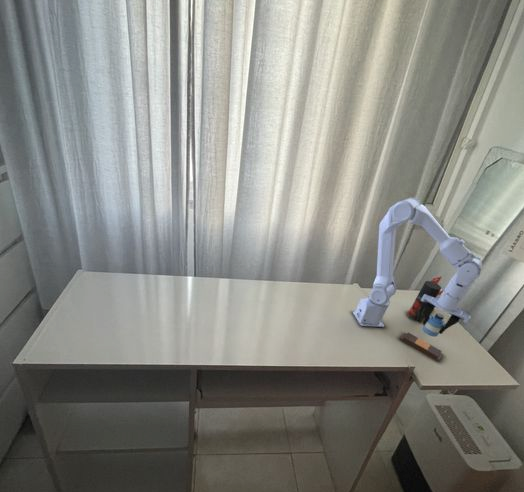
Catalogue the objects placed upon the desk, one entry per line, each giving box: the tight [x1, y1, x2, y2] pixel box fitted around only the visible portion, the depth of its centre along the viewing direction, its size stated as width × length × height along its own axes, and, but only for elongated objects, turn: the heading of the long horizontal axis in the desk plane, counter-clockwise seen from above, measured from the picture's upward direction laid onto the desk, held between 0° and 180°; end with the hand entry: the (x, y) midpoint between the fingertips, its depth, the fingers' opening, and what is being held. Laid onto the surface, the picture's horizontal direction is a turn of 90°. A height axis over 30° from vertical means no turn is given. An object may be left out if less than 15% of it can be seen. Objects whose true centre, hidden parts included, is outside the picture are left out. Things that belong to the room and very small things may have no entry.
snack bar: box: [399, 332, 444, 362], centre depth 109 cm, size 14×4×2 cm, turn 49°
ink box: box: [430, 276, 444, 299], centre depth 129 cm, size 4×8×15 cm, turn 125°
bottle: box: [422, 312, 446, 338], centre depth 104 cm, size 5×5×7 cm
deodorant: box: [407, 280, 442, 322], centre depth 122 cm, size 6×6×15 cm
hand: (432, 328), depth 105 cm, fingers closed on bottle, 5 cm apart
